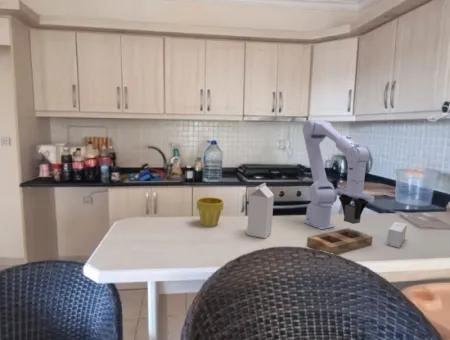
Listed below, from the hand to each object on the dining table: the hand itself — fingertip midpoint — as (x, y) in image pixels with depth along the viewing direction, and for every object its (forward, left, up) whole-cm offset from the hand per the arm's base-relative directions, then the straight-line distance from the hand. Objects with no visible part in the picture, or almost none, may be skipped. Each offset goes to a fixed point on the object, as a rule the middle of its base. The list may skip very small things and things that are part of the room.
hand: (351, 217), depth 116 cm
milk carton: (-19, -27, -9) cm, 34 cm away
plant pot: (-37, -38, -9) cm, 54 cm away
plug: (0, 0, -2) cm, 2 cm away
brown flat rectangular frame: (+2, -8, -8) cm, 12 cm away
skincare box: (+8, +20, -5) cm, 22 cm away
